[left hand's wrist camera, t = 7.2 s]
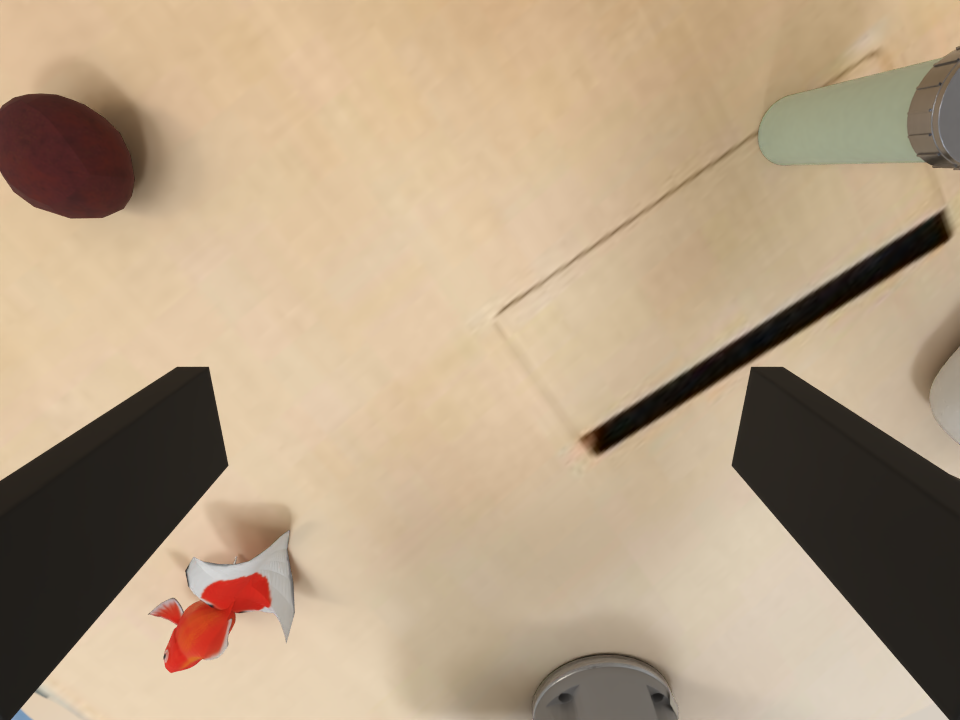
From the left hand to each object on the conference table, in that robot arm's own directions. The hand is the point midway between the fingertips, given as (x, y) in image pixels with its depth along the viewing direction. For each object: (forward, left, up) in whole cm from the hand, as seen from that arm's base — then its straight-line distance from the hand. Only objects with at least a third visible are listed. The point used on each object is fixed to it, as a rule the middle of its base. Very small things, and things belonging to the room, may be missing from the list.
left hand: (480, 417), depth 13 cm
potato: (+6, +27, -28) cm, 39 cm away
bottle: (+8, -22, -28) cm, 37 cm away
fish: (-30, +23, -28) cm, 47 cm away
